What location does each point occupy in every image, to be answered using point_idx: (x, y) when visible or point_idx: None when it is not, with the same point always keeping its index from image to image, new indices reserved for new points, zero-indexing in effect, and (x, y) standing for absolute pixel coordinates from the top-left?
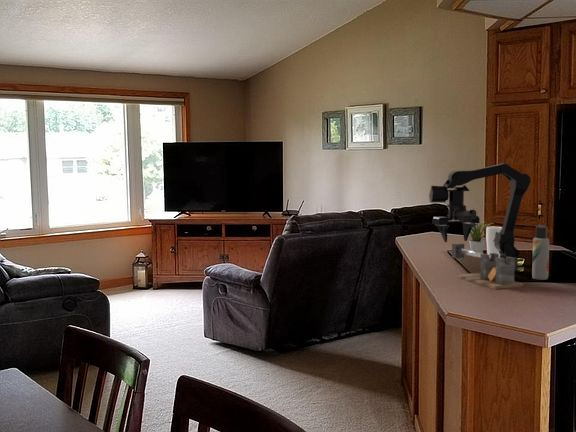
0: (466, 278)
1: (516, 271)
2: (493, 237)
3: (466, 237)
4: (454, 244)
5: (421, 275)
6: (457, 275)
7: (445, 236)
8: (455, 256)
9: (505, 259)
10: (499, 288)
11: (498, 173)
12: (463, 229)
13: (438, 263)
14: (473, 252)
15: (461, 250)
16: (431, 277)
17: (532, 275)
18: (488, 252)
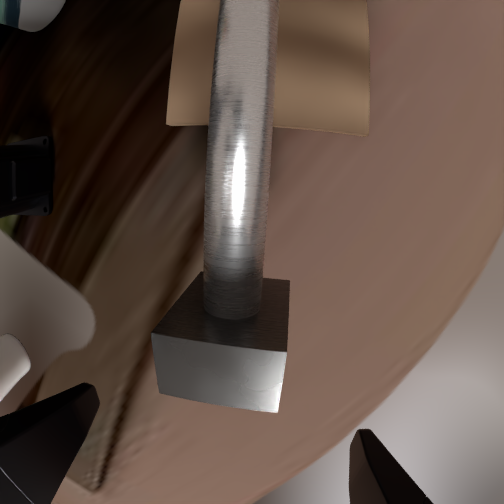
0: (367, 46)
1: (20, 141)
2: None
3: (68, 402)
4: (283, 372)
5: (474, 283)
6: (367, 132)
7: (408, 476)
8: (289, 287)
9: (4, 157)
10: None
11: None
12: (48, 499)
13: (204, 446)
14: (268, 13)
15: (262, 244)
16: (474, 215)
17: (56, 4)
18: (10, 376)
